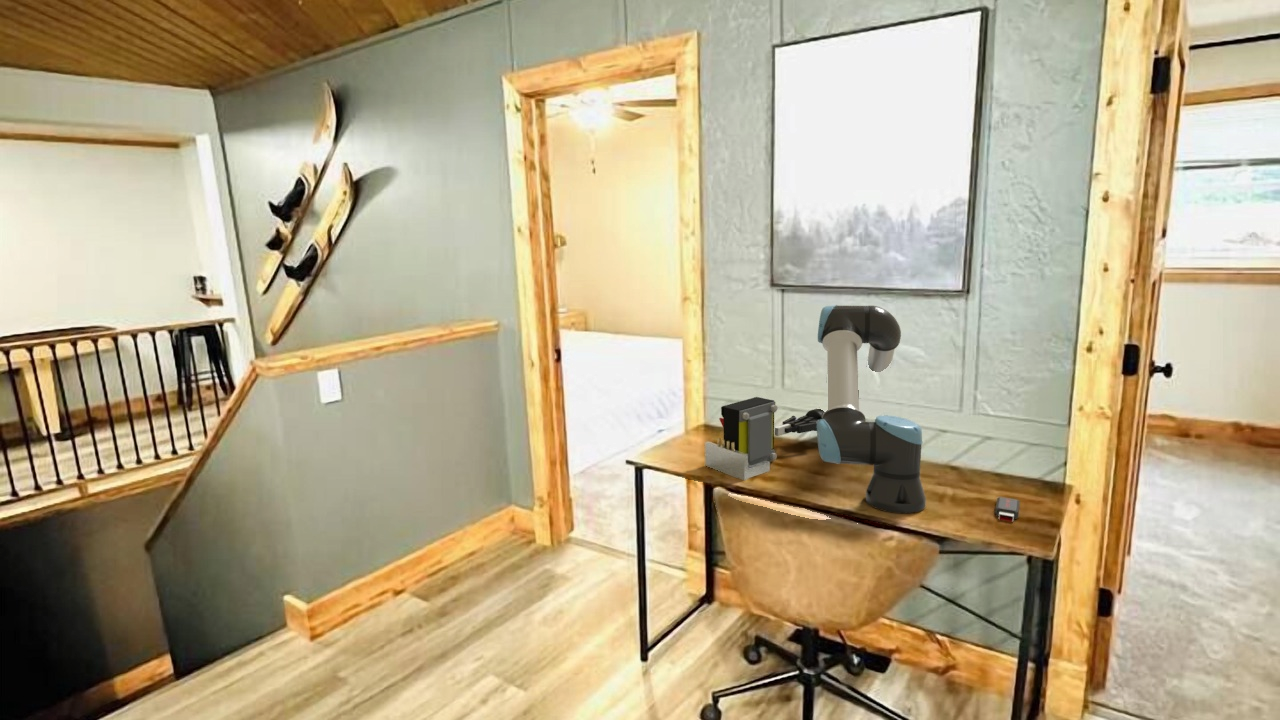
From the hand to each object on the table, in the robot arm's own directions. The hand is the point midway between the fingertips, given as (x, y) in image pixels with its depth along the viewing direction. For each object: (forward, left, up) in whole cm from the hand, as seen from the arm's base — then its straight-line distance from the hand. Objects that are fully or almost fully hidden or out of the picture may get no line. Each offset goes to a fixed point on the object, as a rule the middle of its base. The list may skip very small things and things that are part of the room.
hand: (776, 431), depth 216 cm
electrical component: (+1, +13, -9) cm, 15 cm away
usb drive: (-69, -9, -9) cm, 71 cm away
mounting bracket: (0, +18, -8) cm, 20 cm away
